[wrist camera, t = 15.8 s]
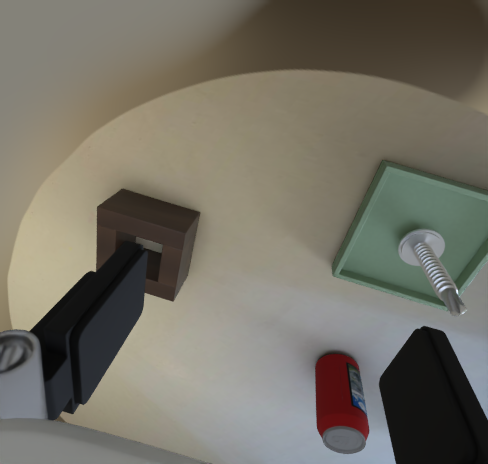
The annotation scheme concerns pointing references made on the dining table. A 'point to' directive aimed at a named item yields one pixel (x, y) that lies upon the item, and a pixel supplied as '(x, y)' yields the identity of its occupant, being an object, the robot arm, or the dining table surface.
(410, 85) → the dining table surface
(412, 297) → the tray
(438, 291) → the screw
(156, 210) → the holder
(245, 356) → the dining table surface
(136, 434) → the dining table surface
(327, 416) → the beverage can
